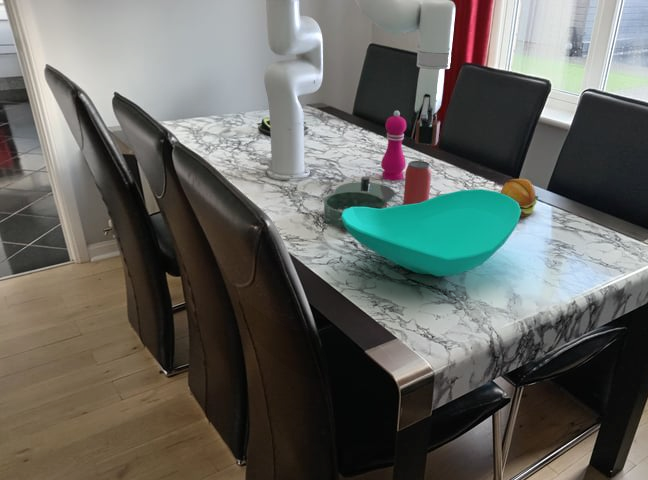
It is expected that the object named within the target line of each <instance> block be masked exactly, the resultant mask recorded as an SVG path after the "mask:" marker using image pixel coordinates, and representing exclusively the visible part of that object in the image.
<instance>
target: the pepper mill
mask: <svg viewBox="0 0 648 480" xmlns="http://www.w3.org/2000/svg"><path fill="white" fill-rule="evenodd" d="M400 115H401V112H400V111H399V110H394V112H393V115H392V116H390V117H388V118H387V120H386V121H385V129H386V131H387V132H386V139H387V148H386V151H385V153H384V155H383V156H382V158H381V164H380V165H381V168H382V170H383V171H382V175H381V177H382V178H383V179H384V180H388V181H402V180H403V179H404V170H406V168H407V167H406V164H407V163H406V158H405V155H404V153H403V149H402V147H403V145H402V144H403V140H404V139H405V137H404V136H405V133H404V132H405V131H406V130H407V121H406V119H405V118H403V117H402V116H400Z"/></svg>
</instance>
